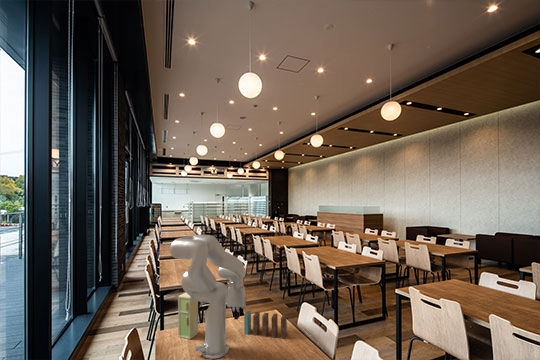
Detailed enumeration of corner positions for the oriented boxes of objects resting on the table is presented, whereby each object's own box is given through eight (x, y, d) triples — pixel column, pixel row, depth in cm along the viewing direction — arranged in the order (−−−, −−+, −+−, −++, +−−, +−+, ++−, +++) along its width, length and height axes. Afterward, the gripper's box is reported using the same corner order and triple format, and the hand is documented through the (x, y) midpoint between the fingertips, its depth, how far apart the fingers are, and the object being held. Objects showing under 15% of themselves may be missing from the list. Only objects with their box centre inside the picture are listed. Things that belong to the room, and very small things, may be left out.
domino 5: (281, 338, 137) (280, 318, 137) (283, 334, 141) (282, 314, 142) (284, 339, 136) (284, 318, 137) (286, 334, 141) (286, 314, 142)
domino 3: (262, 336, 139) (262, 316, 140) (265, 331, 144) (264, 312, 145) (266, 336, 139) (265, 316, 140) (268, 332, 144) (268, 312, 144)
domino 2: (253, 335, 141) (253, 315, 141) (256, 330, 145) (256, 311, 146) (256, 335, 140) (256, 315, 141) (259, 331, 145) (259, 312, 146)
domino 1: (244, 334, 142) (244, 314, 143) (247, 329, 147) (247, 310, 147) (247, 334, 141) (247, 315, 142) (251, 330, 146) (250, 311, 147)
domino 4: (271, 337, 138) (271, 317, 139) (274, 332, 143) (273, 313, 144) (275, 338, 137) (275, 317, 138) (277, 333, 142) (277, 313, 143)
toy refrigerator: (176, 337, 139) (177, 296, 141) (186, 331, 146) (186, 291, 148) (189, 340, 136) (189, 298, 138) (198, 333, 143) (198, 293, 144)
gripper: (221, 285, 146) (221, 320, 145) (246, 287, 142) (247, 323, 141) (226, 281, 153) (227, 314, 152) (251, 283, 149) (251, 316, 148)
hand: (236, 318), depth 146 cm, fingers closed
